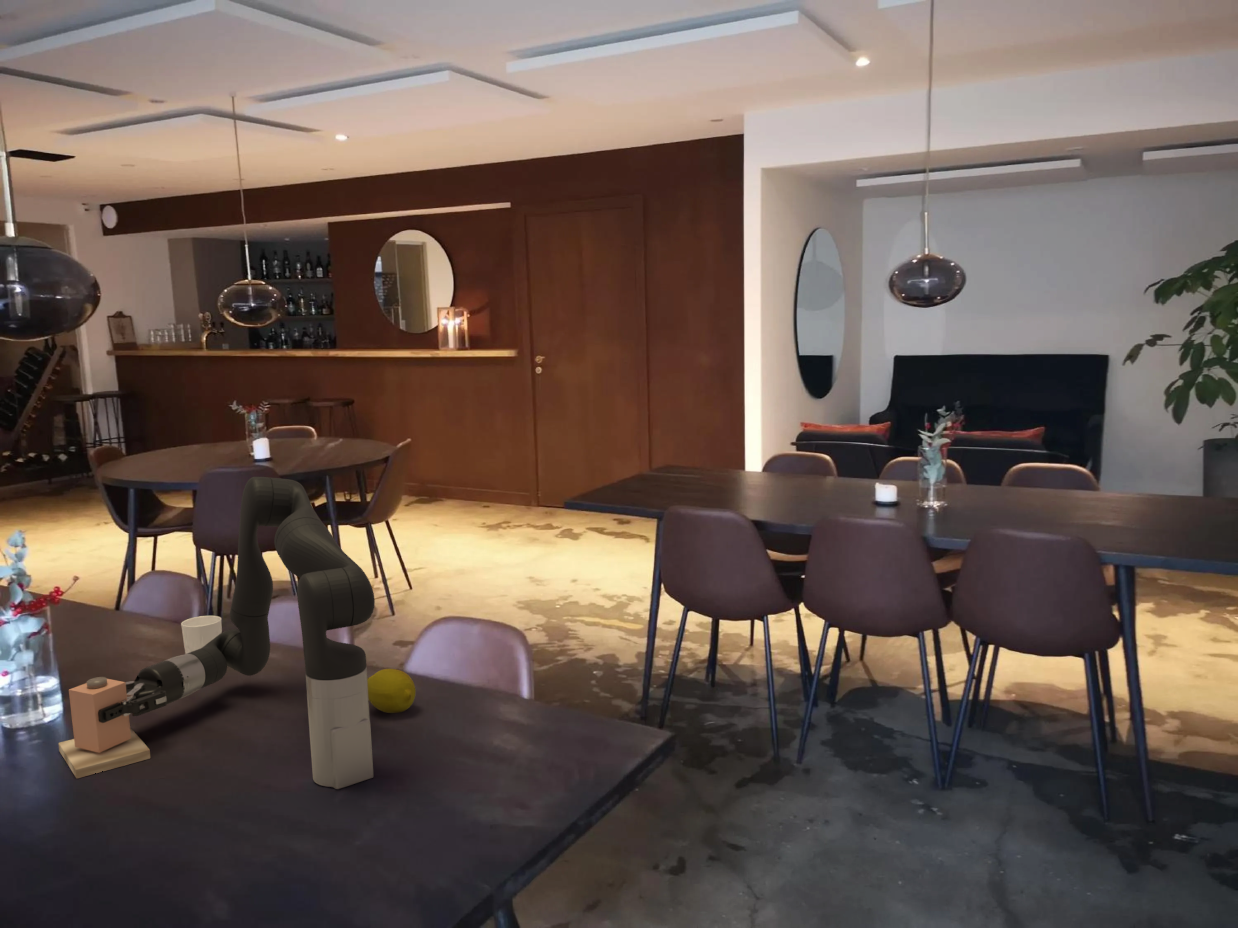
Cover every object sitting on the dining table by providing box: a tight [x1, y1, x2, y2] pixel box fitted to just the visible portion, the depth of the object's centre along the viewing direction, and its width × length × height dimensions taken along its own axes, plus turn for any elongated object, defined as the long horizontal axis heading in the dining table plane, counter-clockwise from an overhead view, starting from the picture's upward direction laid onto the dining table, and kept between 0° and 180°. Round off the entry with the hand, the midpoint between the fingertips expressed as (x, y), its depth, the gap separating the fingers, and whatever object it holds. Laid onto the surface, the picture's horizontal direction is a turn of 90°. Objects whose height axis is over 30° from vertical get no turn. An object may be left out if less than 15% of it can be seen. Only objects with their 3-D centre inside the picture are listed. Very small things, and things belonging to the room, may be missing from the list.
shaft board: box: [58, 727, 151, 779], centre depth 164 cm, size 14×11×8 cm
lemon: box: [367, 668, 416, 714], centre depth 180 cm, size 11×8×8 cm
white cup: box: [180, 615, 223, 654], centre depth 207 cm, size 8×8×10 cm
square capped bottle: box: [68, 676, 131, 753], centre depth 163 cm, size 6×6×11 cm
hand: (86, 713), depth 161 cm, fingers closed on square capped bottle, 6 cm apart
